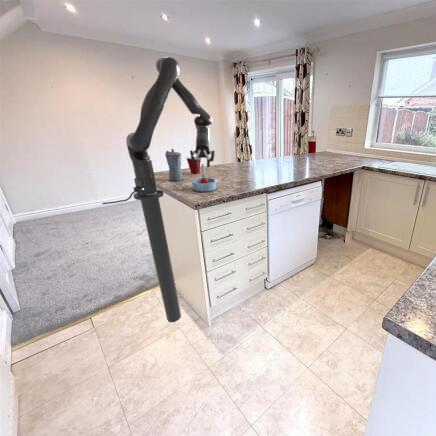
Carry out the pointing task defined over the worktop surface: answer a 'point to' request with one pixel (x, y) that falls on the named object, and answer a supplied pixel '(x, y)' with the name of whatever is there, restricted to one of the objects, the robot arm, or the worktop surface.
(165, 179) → the worktop surface
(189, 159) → the plastic cup
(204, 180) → the strawberry fork
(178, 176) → the moka pot
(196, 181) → the serving bowl
